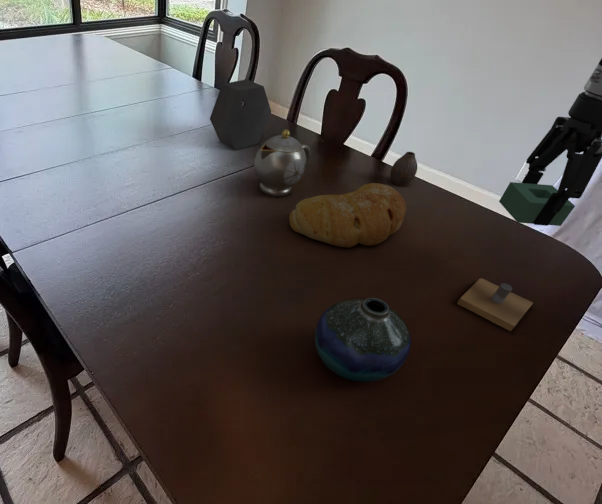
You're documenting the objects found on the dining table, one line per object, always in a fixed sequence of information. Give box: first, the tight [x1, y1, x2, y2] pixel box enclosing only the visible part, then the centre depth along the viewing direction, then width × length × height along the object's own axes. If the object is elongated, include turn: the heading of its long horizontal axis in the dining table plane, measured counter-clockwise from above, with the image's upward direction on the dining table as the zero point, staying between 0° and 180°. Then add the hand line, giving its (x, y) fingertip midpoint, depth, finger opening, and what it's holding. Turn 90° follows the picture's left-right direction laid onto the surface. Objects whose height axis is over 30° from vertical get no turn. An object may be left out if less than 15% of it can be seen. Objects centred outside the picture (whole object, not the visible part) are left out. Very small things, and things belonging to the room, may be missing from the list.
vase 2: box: [389, 151, 418, 187], centre depth 128 cm, size 7×7×9 cm
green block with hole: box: [498, 181, 576, 227], centre depth 92 cm, size 9×9×4 cm
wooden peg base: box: [456, 277, 534, 332], centre depth 90 cm, size 11×11×5 cm
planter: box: [209, 79, 272, 151], centre depth 139 cm, size 17×8×21 cm
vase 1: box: [314, 297, 412, 383], centre depth 74 cm, size 15×15×13 cm
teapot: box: [254, 128, 312, 198], centre depth 118 cm, size 18×14×16 cm
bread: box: [288, 182, 407, 248], centre depth 108 cm, size 32×20×10 cm, turn 117°
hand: (528, 212), depth 93 cm, fingers closed on green block with hole, 9 cm apart
